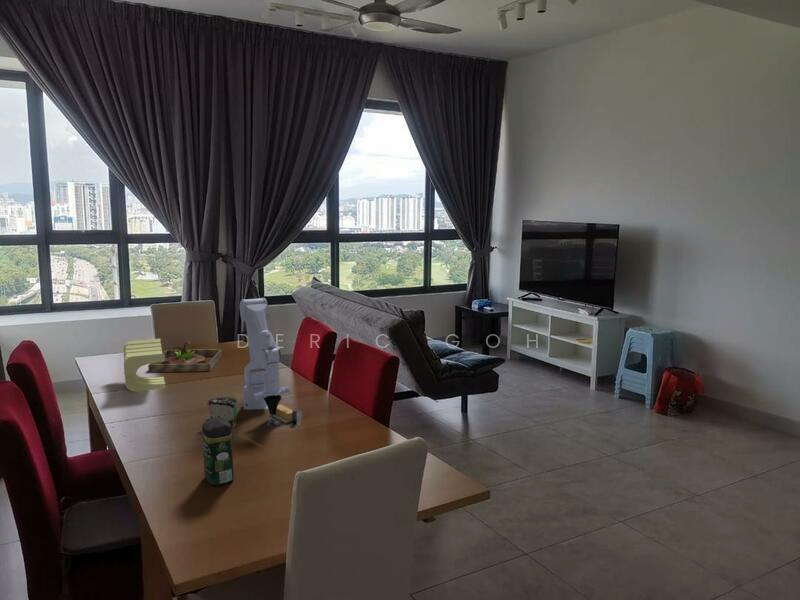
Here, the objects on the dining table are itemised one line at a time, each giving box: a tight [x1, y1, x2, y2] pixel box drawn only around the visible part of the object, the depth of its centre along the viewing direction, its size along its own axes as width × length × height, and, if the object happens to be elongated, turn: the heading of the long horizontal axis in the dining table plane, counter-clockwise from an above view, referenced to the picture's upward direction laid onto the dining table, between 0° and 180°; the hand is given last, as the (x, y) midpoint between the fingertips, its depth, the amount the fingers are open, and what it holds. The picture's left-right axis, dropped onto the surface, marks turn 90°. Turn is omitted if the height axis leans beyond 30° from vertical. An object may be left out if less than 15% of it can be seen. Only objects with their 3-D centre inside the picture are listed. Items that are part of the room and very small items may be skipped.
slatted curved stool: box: [123, 338, 166, 393], centre depth 273 cm, size 30×16×18 cm, turn 24°
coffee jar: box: [201, 417, 235, 486], centre depth 184 cm, size 10×8×19 cm
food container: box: [206, 396, 240, 430], centre depth 228 cm, size 12×6×10 cm, turn 71°
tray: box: [266, 409, 303, 427], centre depth 234 cm, size 12×15×5 cm
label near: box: [279, 417, 293, 422], centre depth 233 cm, size 5×5×1 cm
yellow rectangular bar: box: [276, 403, 294, 420], centre depth 235 cm, size 12×4×2 cm, turn 42°
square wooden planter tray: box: [147, 348, 223, 373], centre depth 311 cm, size 29×29×4 cm
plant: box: [162, 340, 207, 364], centre depth 312 cm, size 20×20×11 cm
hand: (272, 414), depth 233 cm, fingers closed
